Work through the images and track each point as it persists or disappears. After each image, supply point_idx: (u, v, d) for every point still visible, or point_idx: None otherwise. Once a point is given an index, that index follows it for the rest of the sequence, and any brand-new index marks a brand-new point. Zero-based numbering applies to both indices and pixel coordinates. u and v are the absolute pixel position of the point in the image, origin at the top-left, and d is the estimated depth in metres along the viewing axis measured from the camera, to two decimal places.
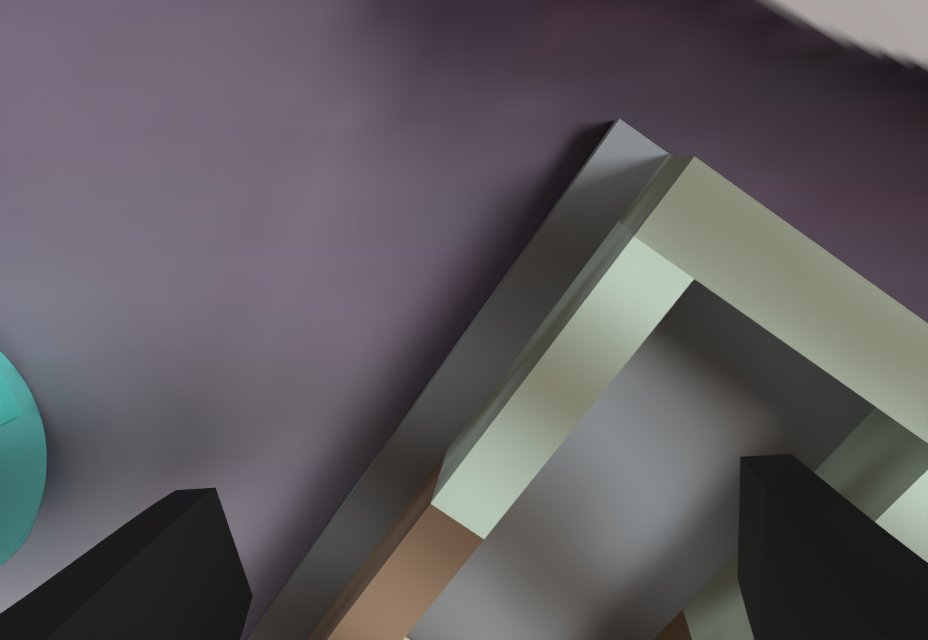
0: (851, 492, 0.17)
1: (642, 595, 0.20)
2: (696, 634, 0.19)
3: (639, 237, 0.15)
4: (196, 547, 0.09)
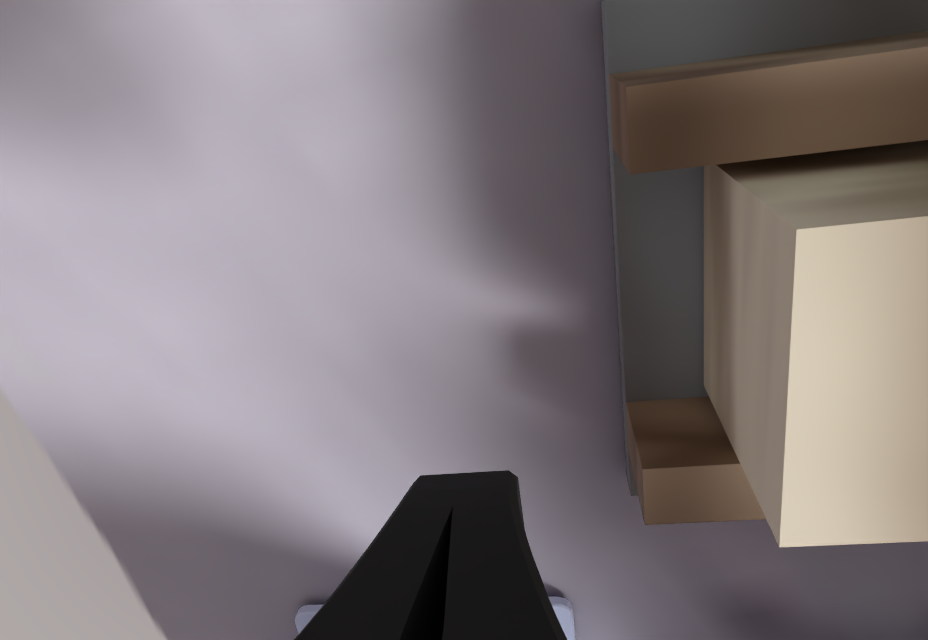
0: None
1: None
2: None
3: None
4: None
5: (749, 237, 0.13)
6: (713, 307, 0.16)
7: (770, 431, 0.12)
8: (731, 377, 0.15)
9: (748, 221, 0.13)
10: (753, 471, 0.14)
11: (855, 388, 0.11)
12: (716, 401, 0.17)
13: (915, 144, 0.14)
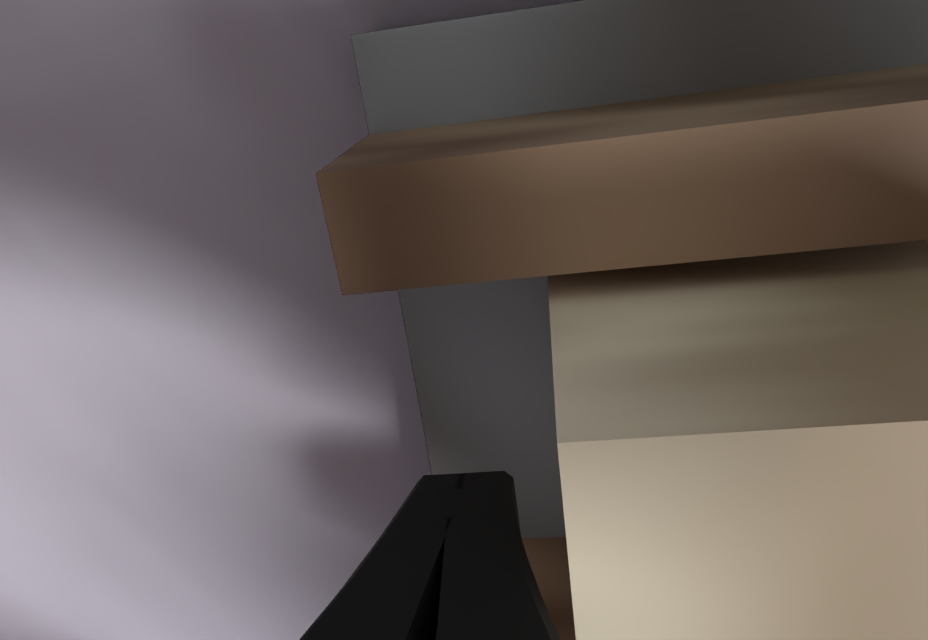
0: None
1: None
2: None
3: None
4: None
5: None
6: None
7: None
8: None
9: None
10: None
11: None
12: None
13: None
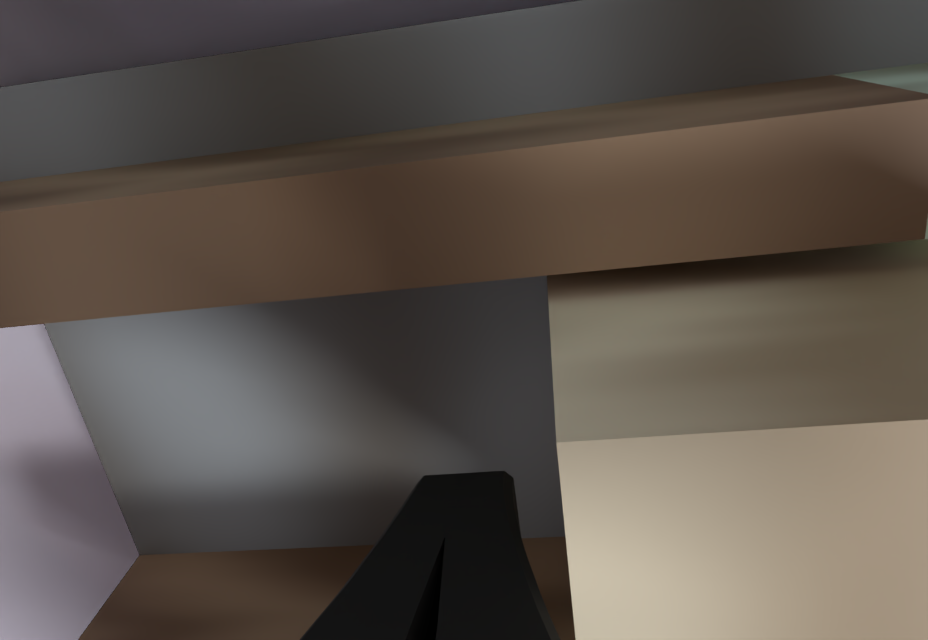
0: None
1: None
2: None
3: None
4: None
5: None
6: None
7: None
8: None
9: None
10: None
11: None
12: None
13: None
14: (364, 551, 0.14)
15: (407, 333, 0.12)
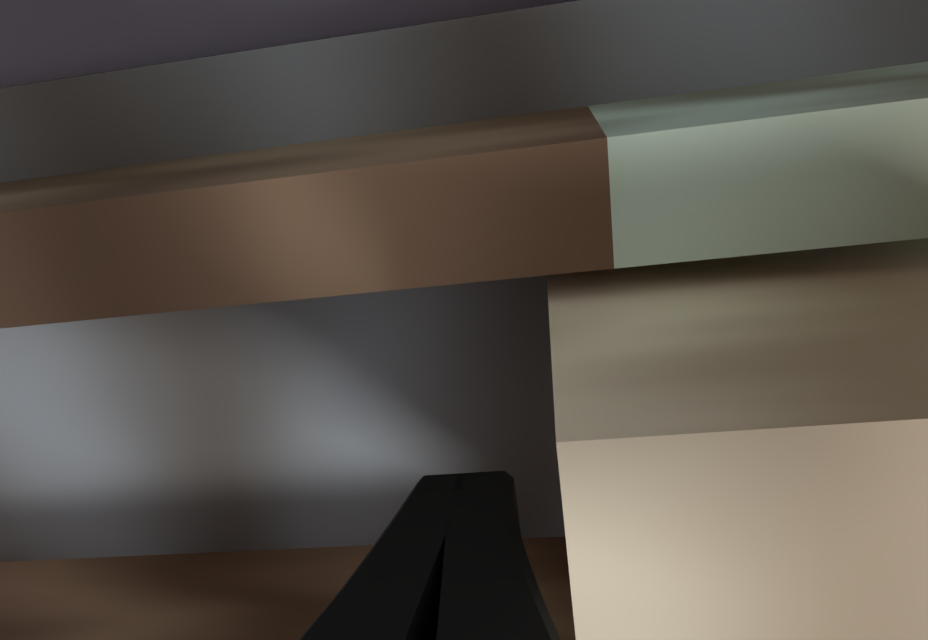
0: None
1: None
2: None
3: None
4: None
5: None
6: None
7: None
8: None
9: None
10: None
11: None
12: None
13: None
14: (206, 558, 0.15)
15: (223, 349, 0.13)
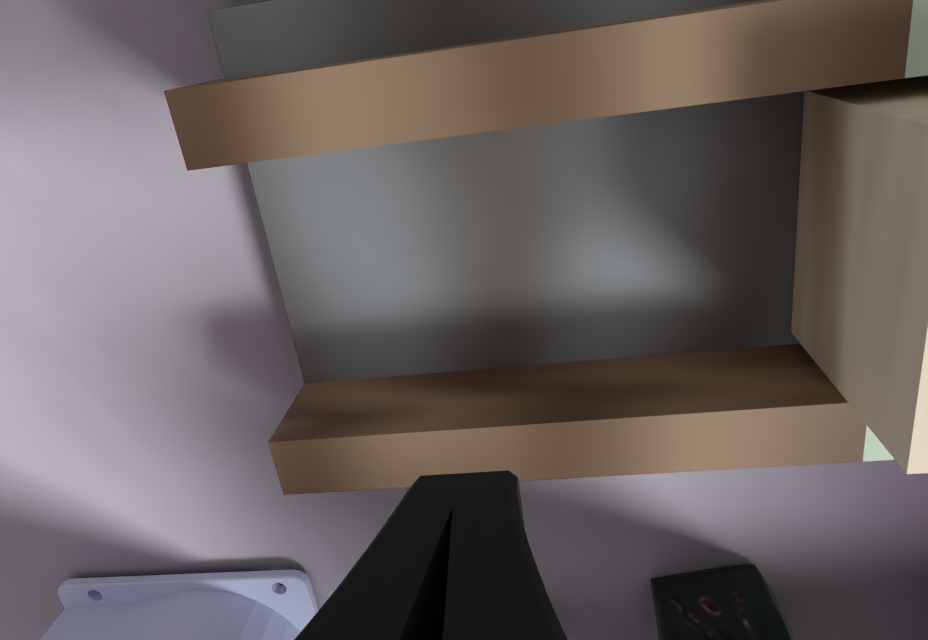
0: None
1: None
2: None
3: None
4: None
5: (875, 158, 0.12)
6: (811, 247, 0.16)
7: (899, 355, 0.12)
8: (837, 313, 0.15)
9: (874, 142, 0.12)
10: (868, 403, 0.14)
11: None
12: (811, 344, 0.16)
13: None
14: (484, 372, 0.19)
15: (529, 190, 0.17)
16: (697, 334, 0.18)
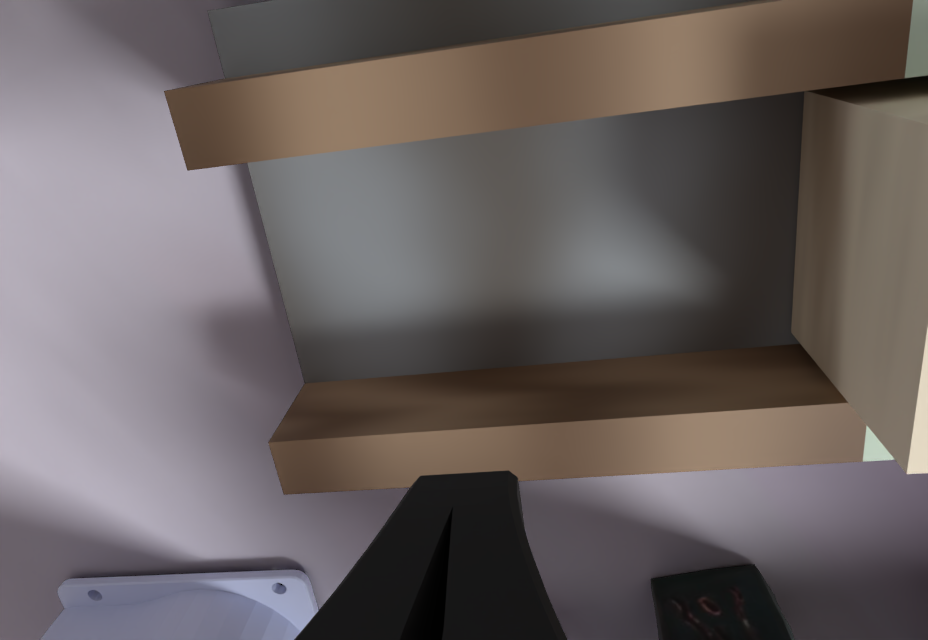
0: None
1: None
2: None
3: None
4: None
5: (875, 158, 0.12)
6: (811, 247, 0.16)
7: (899, 355, 0.12)
8: (837, 313, 0.15)
9: (874, 142, 0.12)
10: (868, 403, 0.14)
11: None
12: (811, 344, 0.16)
13: None
14: (484, 372, 0.19)
15: (529, 190, 0.17)
16: (697, 334, 0.18)
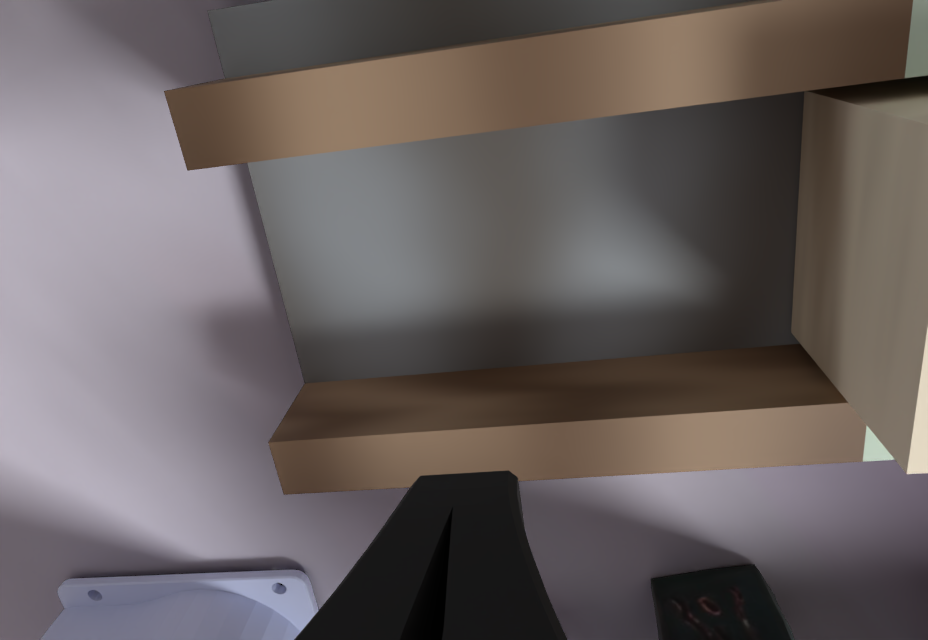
0: None
1: None
2: None
3: None
4: None
5: (875, 158, 0.12)
6: (811, 247, 0.16)
7: (899, 355, 0.12)
8: (837, 313, 0.15)
9: (874, 142, 0.12)
10: (868, 403, 0.14)
11: None
12: (811, 344, 0.16)
13: None
14: (484, 372, 0.19)
15: (529, 190, 0.17)
16: (697, 334, 0.18)
